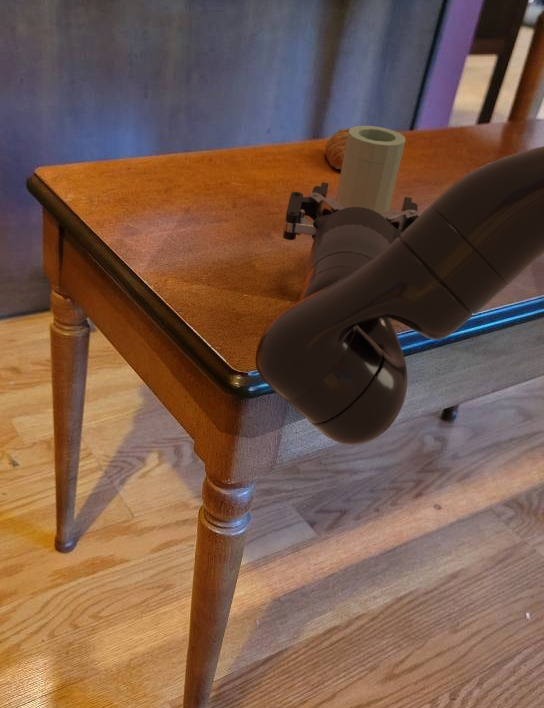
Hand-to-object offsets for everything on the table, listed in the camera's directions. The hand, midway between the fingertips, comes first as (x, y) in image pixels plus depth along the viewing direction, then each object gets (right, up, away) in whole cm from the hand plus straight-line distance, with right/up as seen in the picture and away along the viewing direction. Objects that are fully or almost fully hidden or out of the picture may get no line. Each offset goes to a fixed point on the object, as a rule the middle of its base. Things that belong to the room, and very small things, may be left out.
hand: (364, 198), depth 76 cm
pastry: (+3, +13, +30) cm, 33 cm away
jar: (+1, -1, +11) cm, 11 cm away
